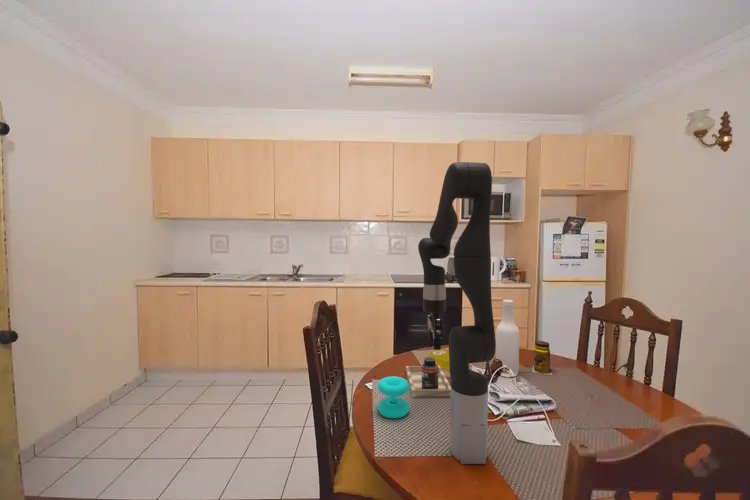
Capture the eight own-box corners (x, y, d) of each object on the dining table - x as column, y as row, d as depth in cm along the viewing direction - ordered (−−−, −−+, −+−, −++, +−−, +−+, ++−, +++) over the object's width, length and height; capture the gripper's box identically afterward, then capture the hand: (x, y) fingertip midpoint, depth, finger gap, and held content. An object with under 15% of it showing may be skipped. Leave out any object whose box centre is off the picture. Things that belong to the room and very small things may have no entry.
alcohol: (497, 367, 146) (498, 297, 144) (519, 371, 141) (520, 299, 140) (493, 375, 138) (494, 301, 136) (517, 379, 134) (518, 303, 132)
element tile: (453, 373, 141) (453, 362, 140) (426, 363, 152) (426, 352, 152) (475, 364, 150) (475, 354, 150) (447, 355, 162) (447, 345, 161)
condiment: (532, 372, 141) (532, 343, 140) (533, 365, 148) (533, 338, 148) (552, 375, 137) (552, 346, 137) (552, 368, 145) (552, 340, 144)
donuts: (407, 374, 114) (410, 388, 104) (407, 404, 115) (410, 420, 105) (377, 374, 115) (377, 388, 105) (377, 404, 115) (377, 420, 105)
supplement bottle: (437, 386, 127) (437, 356, 126) (439, 393, 121) (439, 362, 120) (421, 385, 127) (421, 355, 127) (421, 393, 121) (422, 361, 121)
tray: (452, 397, 119) (452, 390, 119) (412, 397, 119) (412, 390, 119) (439, 372, 141) (439, 365, 141) (405, 372, 141) (405, 366, 141)
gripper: (450, 300, 108) (450, 352, 108) (441, 293, 122) (441, 339, 122) (426, 301, 108) (426, 352, 108) (420, 294, 122) (420, 339, 122)
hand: (434, 345), depth 115 cm, fingers open, 8 cm apart
